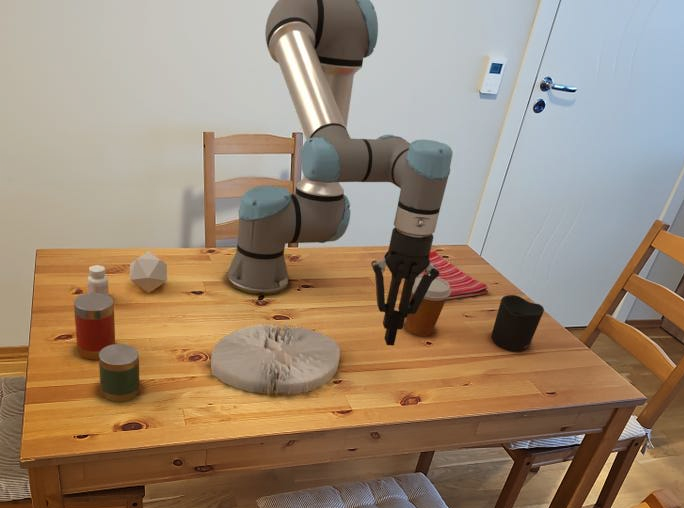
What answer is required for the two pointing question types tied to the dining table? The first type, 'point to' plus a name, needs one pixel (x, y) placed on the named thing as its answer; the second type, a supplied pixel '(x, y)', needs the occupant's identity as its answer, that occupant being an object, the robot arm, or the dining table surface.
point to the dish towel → (456, 279)
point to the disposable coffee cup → (428, 307)
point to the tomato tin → (94, 324)
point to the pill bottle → (97, 280)
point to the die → (148, 272)
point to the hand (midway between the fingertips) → (389, 341)
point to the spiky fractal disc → (275, 359)
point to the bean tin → (119, 372)
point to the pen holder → (516, 323)
